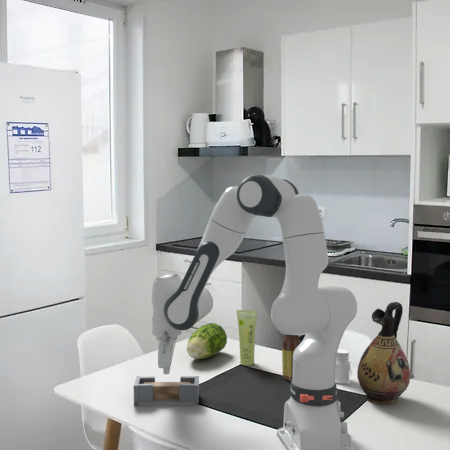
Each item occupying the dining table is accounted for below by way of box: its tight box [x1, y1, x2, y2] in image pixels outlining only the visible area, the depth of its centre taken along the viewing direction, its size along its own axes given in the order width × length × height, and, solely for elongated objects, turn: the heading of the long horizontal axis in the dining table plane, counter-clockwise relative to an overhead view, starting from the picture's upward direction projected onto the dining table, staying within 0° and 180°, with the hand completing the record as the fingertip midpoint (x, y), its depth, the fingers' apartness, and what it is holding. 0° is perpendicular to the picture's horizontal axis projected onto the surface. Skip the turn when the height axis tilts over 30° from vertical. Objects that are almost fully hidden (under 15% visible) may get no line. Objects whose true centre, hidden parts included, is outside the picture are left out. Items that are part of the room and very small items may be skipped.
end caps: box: [133, 375, 200, 406], centre depth 184 cm, size 19×8×6 cm, turn 91°
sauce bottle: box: [281, 334, 301, 382], centre depth 203 cm, size 6×6×20 cm
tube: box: [236, 309, 258, 366], centre depth 217 cm, size 6×5×20 cm
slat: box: [144, 381, 191, 399], centre depth 184 cm, size 14×4×4 cm, turn 92°
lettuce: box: [186, 322, 228, 360], centre depth 224 cm, size 12×21×11 cm, turn 157°
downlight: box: [335, 348, 353, 385], centre depth 202 cm, size 8×7×10 cm
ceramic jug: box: [356, 301, 411, 406], centre depth 185 cm, size 17×15×30 cm
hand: (166, 372), depth 184 cm, fingers closed
